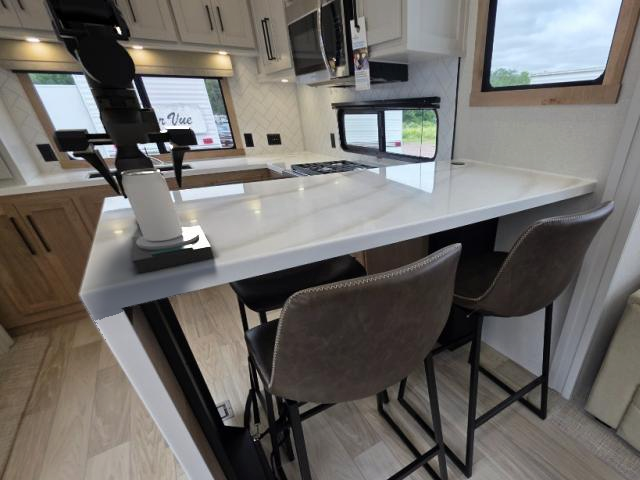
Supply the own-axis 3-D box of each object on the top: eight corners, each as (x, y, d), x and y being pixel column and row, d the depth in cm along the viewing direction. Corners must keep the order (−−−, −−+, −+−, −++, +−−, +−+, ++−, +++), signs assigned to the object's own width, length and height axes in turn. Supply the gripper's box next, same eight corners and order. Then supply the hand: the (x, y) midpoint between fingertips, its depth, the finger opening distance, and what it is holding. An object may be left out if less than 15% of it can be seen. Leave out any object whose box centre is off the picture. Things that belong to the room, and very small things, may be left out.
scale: (136, 248, 67) (130, 233, 65) (202, 236, 73) (198, 222, 71) (138, 273, 57) (131, 256, 56) (214, 257, 63) (209, 242, 62)
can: (191, 234, 65) (169, 170, 59) (156, 245, 60) (129, 176, 54) (172, 229, 68) (150, 167, 62) (138, 238, 63) (110, 172, 57)
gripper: (18, 85, 41) (79, 209, 49) (186, 89, 51) (215, 193, 59) (35, 87, 49) (86, 194, 57) (179, 91, 59) (205, 182, 67)
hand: (150, 190), depth 60 cm, fingers open, 9 cm apart
